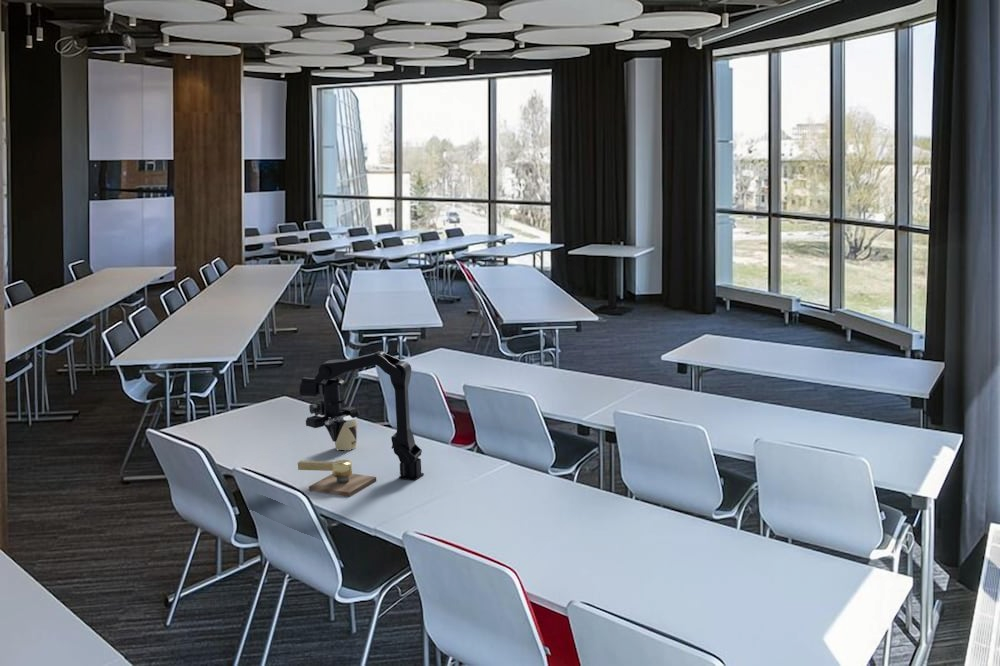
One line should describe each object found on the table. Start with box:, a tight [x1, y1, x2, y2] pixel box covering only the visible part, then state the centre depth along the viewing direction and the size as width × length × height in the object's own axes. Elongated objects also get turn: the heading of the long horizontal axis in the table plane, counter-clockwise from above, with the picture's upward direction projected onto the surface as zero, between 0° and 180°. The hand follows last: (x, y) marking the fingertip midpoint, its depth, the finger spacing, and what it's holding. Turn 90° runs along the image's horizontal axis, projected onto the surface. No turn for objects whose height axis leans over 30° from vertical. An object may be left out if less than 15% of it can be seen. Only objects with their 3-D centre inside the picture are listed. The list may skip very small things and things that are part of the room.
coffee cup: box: [334, 415, 358, 451], centre depth 347 cm, size 9×9×12 cm
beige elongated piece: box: [297, 459, 353, 478], centre depth 307 cm, size 18×6×4 cm, turn 80°
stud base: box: [308, 473, 377, 498], centre depth 306 cm, size 16×16×4 cm
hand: (334, 441), depth 317 cm, fingers closed
